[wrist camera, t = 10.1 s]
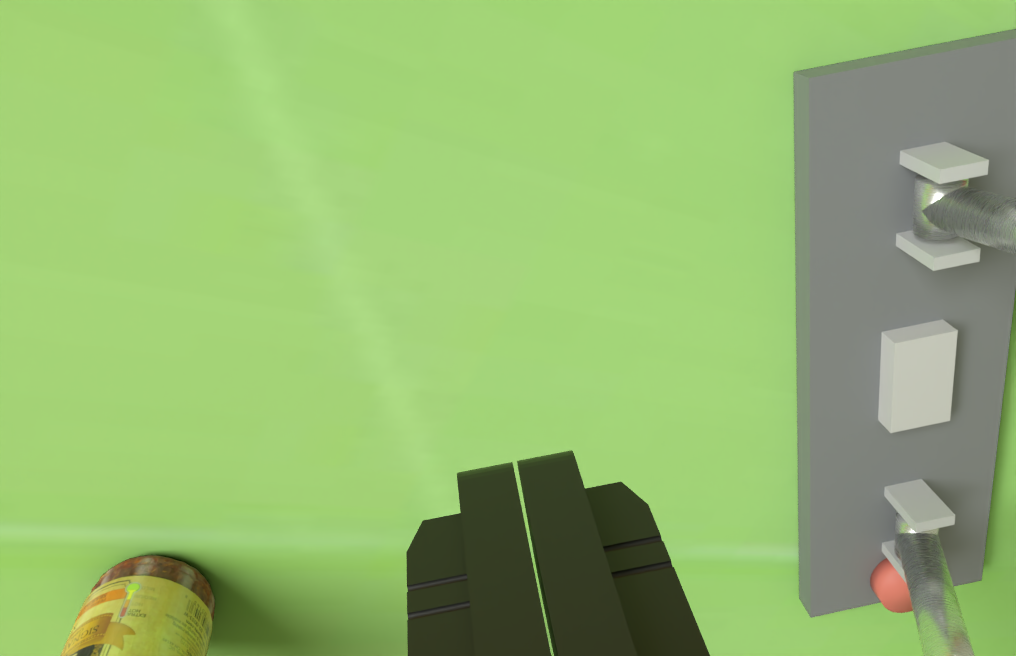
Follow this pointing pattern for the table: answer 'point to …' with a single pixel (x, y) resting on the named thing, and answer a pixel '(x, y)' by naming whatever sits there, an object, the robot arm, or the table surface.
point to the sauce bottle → (145, 611)
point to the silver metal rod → (931, 592)
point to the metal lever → (963, 214)
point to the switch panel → (898, 314)
